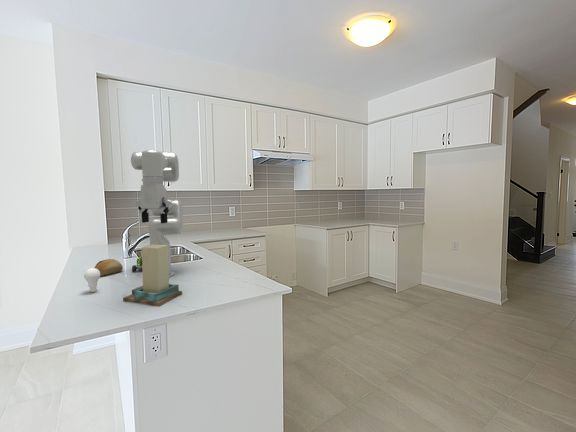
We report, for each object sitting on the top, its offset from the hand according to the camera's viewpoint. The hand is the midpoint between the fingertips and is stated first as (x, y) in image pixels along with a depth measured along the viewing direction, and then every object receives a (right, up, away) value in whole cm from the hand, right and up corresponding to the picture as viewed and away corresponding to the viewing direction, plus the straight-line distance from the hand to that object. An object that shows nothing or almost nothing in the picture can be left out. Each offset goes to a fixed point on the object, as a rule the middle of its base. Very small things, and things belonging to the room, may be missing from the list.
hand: (154, 222), depth 121 cm
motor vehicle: (-28, -29, +50) cm, 64 cm away
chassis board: (-2, -32, +3) cm, 32 cm away
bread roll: (-43, -29, +39) cm, 65 cm away
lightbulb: (-32, -32, +10) cm, 46 cm away
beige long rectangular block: (0, -31, +3) cm, 31 cm away
